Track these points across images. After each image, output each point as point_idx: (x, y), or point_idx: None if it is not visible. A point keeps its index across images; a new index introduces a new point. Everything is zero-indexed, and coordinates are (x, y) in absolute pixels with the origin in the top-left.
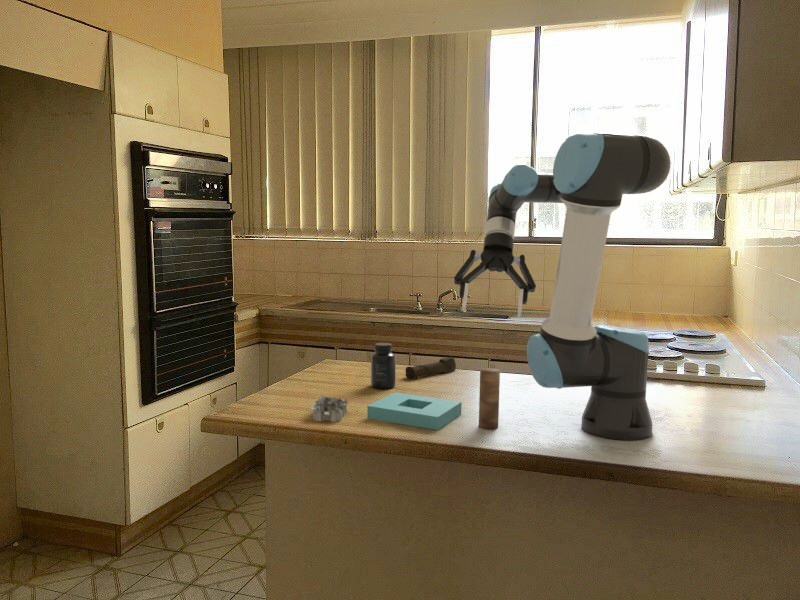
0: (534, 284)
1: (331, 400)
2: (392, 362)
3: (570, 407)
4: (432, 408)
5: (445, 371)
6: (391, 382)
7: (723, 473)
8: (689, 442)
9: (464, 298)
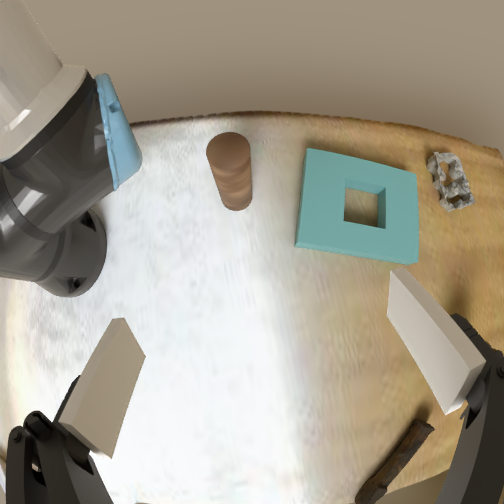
0: (10, 440)
1: (463, 202)
2: None
3: None
4: (331, 186)
5: (370, 480)
6: None
7: None
8: None
9: (422, 291)
